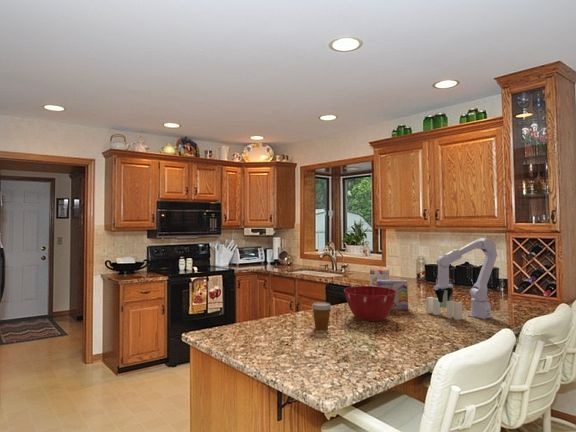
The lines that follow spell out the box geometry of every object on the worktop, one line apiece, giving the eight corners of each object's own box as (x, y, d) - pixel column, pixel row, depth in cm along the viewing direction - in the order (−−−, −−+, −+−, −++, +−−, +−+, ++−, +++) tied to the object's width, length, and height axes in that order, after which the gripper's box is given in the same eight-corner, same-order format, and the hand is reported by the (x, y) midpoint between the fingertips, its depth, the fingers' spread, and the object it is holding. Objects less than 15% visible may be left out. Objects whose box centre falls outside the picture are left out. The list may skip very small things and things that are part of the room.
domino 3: (447, 306, 226) (447, 290, 226) (442, 307, 223) (441, 291, 223) (445, 306, 227) (445, 290, 227) (439, 307, 224) (439, 291, 225)
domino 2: (440, 314, 229) (440, 298, 230) (435, 315, 227) (435, 299, 227) (438, 313, 231) (438, 297, 231) (432, 314, 228) (432, 298, 228)
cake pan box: (375, 309, 243) (375, 280, 243) (375, 307, 248) (375, 278, 248) (408, 310, 238) (408, 281, 239) (407, 308, 243) (407, 279, 243)
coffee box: (450, 303, 261) (450, 278, 261) (453, 305, 254) (453, 279, 255) (435, 302, 262) (435, 278, 262) (438, 304, 255) (438, 279, 255)
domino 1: (434, 312, 233) (434, 297, 233) (428, 313, 230) (428, 297, 231) (431, 312, 235) (431, 296, 235) (426, 313, 232) (426, 297, 232)
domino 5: (462, 318, 218) (462, 302, 218) (456, 319, 215) (456, 303, 216) (459, 318, 219) (459, 301, 220) (454, 319, 217) (453, 302, 217)
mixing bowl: (398, 326, 203) (398, 295, 203) (342, 323, 208) (341, 293, 209) (395, 313, 230) (394, 286, 231) (345, 311, 236) (345, 285, 236)
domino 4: (454, 317, 222) (454, 300, 222) (449, 318, 219) (449, 301, 219) (452, 316, 223) (452, 300, 223) (446, 317, 220) (446, 301, 221)
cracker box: (369, 298, 278) (369, 268, 278) (376, 297, 280) (376, 267, 281) (382, 301, 265) (382, 270, 265) (389, 301, 268) (389, 269, 268)
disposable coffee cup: (315, 331, 193) (315, 306, 193) (309, 326, 202) (309, 302, 202) (334, 329, 195) (333, 305, 196) (327, 325, 205) (327, 301, 205)
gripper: (445, 275, 233) (445, 299, 232) (429, 277, 225) (429, 301, 225) (456, 277, 227) (456, 301, 226) (440, 279, 219) (440, 304, 219)
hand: (443, 301), depth 225 cm, fingers closed on domino 3, 5 cm apart
